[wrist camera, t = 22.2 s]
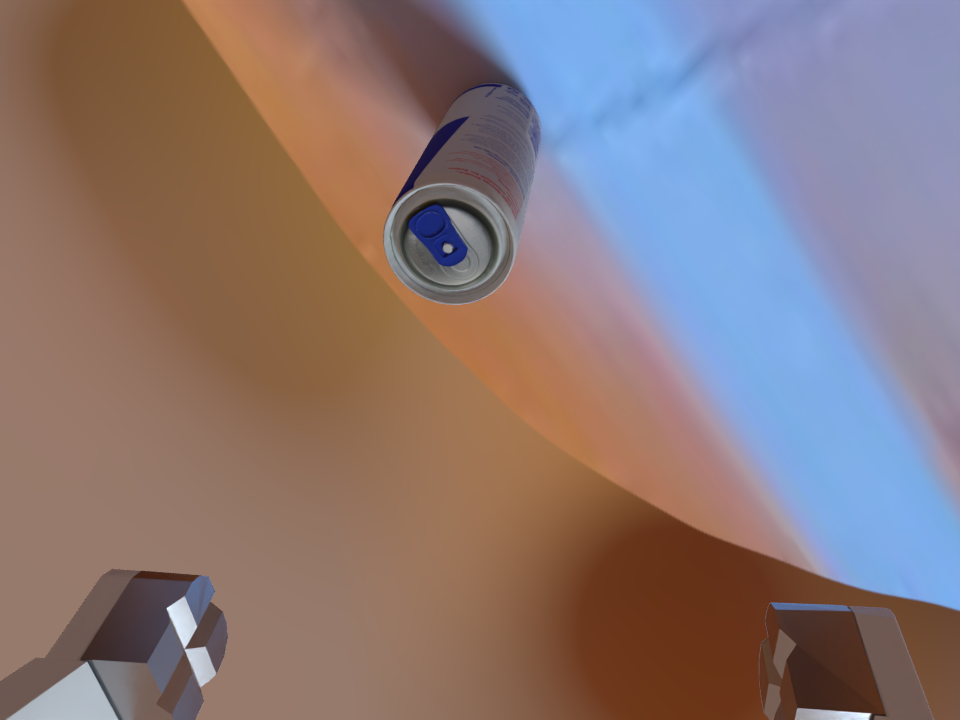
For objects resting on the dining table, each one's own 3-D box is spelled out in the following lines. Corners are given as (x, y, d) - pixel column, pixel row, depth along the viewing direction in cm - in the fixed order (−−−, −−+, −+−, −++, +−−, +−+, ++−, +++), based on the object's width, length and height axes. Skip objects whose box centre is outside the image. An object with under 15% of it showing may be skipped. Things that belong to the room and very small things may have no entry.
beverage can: (428, 112, 42) (353, 227, 30) (508, 58, 40) (463, 157, 28) (482, 191, 44) (433, 329, 32) (561, 142, 42) (542, 270, 30)
